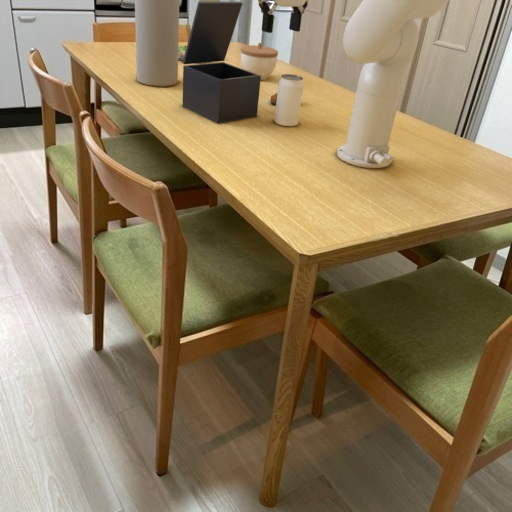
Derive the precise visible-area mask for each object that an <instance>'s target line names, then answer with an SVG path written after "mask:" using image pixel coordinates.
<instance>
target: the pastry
mask: <svg viewBox="0 0 512 512" xmlns="http://www.w3.org/2000/svg"><path fill="white" fill-rule="evenodd" d="M277 93H278V92H276V93H274V94H273V95H271V96H270V100H269V102H270V103H272V104H274V105H276V101H277Z"/></svg>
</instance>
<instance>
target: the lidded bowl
mask: <svg viewBox="0 0 512 512" xmlns="http://www.w3.org/2000/svg"><path fill="white" fill-rule="evenodd" d="M278 55H279V51H278V50H277V49H276V48H273V47H269V46H265V45H263V43H262V42H258V43H257V45H256V44H254V45H253V44H249V45H243V46H241V47H240V58H239V59H240V66H241V67H240V68H241V69H244V70H247V71H249V72H252V73H255V74H258V75H260V76H261V81H265V80H267V79H268V77H270V76H271V75H272V74H273V72H274V71H275V68H276V64H277V62H278V61H277V60H278Z"/></svg>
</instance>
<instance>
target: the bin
mask: <svg viewBox="0 0 512 512" xmlns="http://www.w3.org/2000/svg"><path fill="white" fill-rule="evenodd" d="M261 82H262V80H261V76H260V75H258V74H255V73H252V72H249V71H247V70H244V69H242V67H238V66H235V65H233V64H230V63H227V62H224V61H218V62H207V63H195V64H183V67H182V102H181V103H182V105H181V106H182V108H185V109H186V110H188V111H192V112H193V113H196V114H198V115H200V116H202V117H204V118H206V119H208V120H209V121H212V122H215V123H216V124H222V123H227V122H234V121H239V120H244V119H245V120H246V119H249V118H250V119H251V118H255V117H258V109H259V101H260V91H261V90H260V89H261Z"/></svg>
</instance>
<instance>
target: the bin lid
mask: <svg viewBox="0 0 512 512" xmlns="http://www.w3.org/2000/svg"><path fill="white" fill-rule="evenodd" d="M242 7H243V2H242V1H221V0H198V1H197V6H196V10H195V13H194V17H193V21H192V25H191V29H190V33H189V37H188V41H187V44H186V46H187V48H186V52H185V56H184V59H183V61H182V64H183V65H195V64H207V63H218V62H224V61H225V59H226V57H227V54H228V51H229V48H230V43H231V41H232V38H233V35H234V32H235V28H236V25H237V22H238V19H239V17H240V12H241V9H242Z"/></svg>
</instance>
